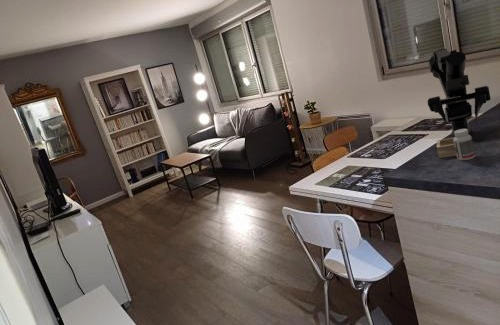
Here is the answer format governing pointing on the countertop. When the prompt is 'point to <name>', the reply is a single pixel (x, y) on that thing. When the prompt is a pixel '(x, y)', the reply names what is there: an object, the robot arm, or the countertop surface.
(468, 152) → the pill bottle
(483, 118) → the countertop surface
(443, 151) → the birch socket stand
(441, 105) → the robot arm
